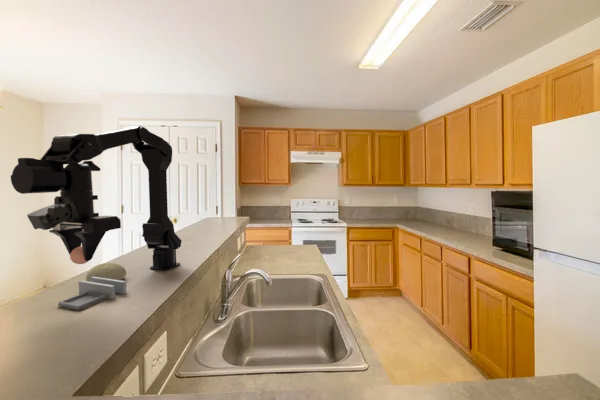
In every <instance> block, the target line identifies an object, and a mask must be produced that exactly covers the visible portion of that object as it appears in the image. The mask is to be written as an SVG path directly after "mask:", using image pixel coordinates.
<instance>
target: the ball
mask: <svg viewBox="0 0 600 400" xmlns="http://www.w3.org/2000/svg"><path fill="white" fill-rule="evenodd" d="M69 259H70V260H71V262H72V263H74V264H76V265H84V264H86V263H88V262H89V261H85V258H84V254H83V248H82V245H81V246H80V247H77V248H75V249H74V250H73V251H72V252H71V254H70V255H69Z"/></svg>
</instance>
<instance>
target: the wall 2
mask: <svg viewBox="0 0 600 400" xmlns="http://www.w3.org/2000/svg"><path fill="white" fill-rule="evenodd" d="M91 282H95V283H101V284H108V285H114V286H115V294H121V295H124V294H127V283H126V280H114V279H108V278H101V277H91Z"/></svg>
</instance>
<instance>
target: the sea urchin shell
mask: <svg viewBox="0 0 600 400" xmlns="http://www.w3.org/2000/svg"><path fill="white" fill-rule="evenodd" d="M126 276H127V269H126V268H125V267H124V266H122V265H121V264H119V263H115V262H106V263H104V262H103V263H99V264H97V265H95V266H93V267H92V268H90V270H89V271H88V272H87V273H86V276H85V281H89V282H91V277H101V278H108V279H114V280H121V281H123V279H125V278H126Z"/></svg>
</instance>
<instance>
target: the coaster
mask: <svg viewBox="0 0 600 400" xmlns="http://www.w3.org/2000/svg"><path fill="white" fill-rule="evenodd" d="M107 299H108V298H107V295H106V294H100V293H95V292H89V291H87V292H85V293H82V294H80V293H78V294H77V295H75V296H71V297H69V298H66V299H63V300H60V301H58V307H59V306H61V307H60V308H63V307H64V309H68V310H74V311H78V312H79V311H81V310H83V309H86V308H89V307H91V306H93V305H96V304H99V303H100V302H103V301H105V300H107Z"/></svg>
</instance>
